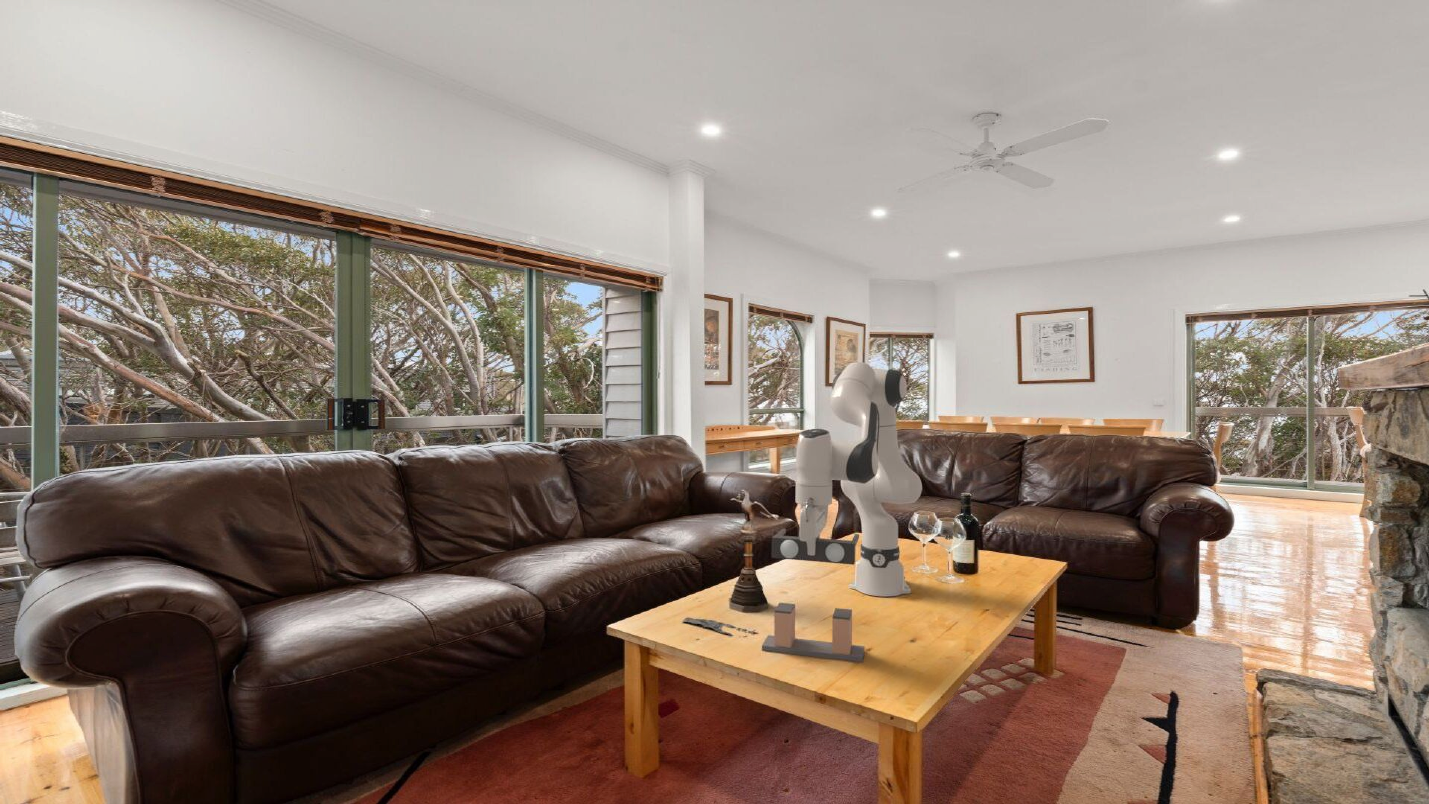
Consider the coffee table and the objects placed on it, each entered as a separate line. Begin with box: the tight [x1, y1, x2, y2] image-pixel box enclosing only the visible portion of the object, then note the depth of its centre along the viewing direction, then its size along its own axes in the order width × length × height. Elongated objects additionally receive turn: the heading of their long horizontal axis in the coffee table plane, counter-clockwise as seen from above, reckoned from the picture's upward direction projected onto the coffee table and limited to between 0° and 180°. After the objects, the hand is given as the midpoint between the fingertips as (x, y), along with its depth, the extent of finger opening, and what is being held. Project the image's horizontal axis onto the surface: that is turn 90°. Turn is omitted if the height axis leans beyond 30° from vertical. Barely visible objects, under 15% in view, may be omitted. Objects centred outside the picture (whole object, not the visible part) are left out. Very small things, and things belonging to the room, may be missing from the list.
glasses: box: [770, 528, 860, 565], centre depth 164 cm, size 14×20×5 cm
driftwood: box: [681, 616, 756, 638], centre depth 176 cm, size 21×7×2 cm, turn 52°
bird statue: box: [728, 481, 780, 613], centre depth 195 cm, size 17×13×35 cm
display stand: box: [761, 602, 866, 663], centre depth 160 cm, size 7×24×10 cm, turn 73°
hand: (813, 552), depth 160 cm, fingers closed on glasses, 3 cm apart
